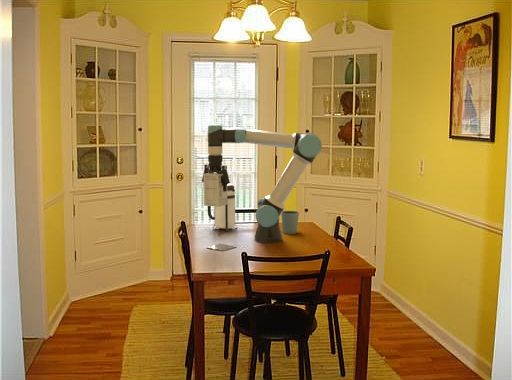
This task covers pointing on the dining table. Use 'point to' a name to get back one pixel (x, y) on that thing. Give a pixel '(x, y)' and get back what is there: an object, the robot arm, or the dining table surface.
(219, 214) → the coffee press
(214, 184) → the supplement box
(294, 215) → the drinking glass
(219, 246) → the trivet
